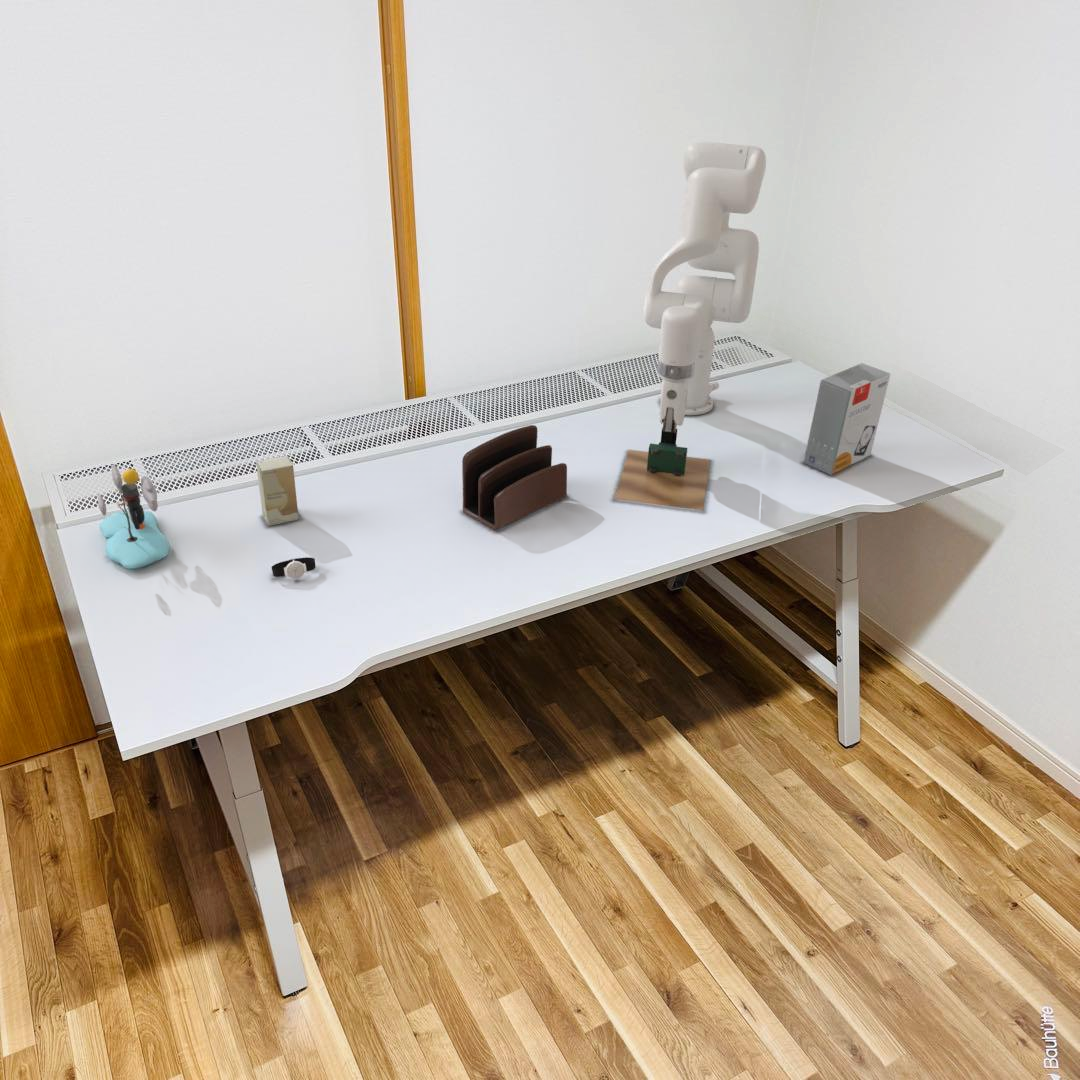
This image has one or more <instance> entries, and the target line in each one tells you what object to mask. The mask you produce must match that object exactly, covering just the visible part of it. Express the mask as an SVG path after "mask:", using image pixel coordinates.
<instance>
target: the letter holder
mask: <svg viewBox="0 0 1080 1080" xmlns="http://www.w3.org/2000/svg"><path fill="white" fill-rule="evenodd" d="M538 431H539V430H538V426H537V425H534V424H531V425H530V424H529V425H527V426H522V427H519V428H515V429H513V430H510V431H507V432H504V433H502V434H500V435H498V436H496V437H493V438H491V439H489V440H487V441H485V442H483V443H481V444H479V445H478V446H476V447H474V448H472V449H470V450H469V451H467V452H466V453H465V454H464V455H463V457H462V463H461V465H462V466H461V468H462V471H461V472H462V473H461V474H462V476H461V477H462V479H461V480H462V512H463V514H466V515H468V516H470V517H471V518H473V519H475V520H476V521H478V522H480V523H481V524H483V525H485V526H486V527H488V528H490V529H491V530H493V531H499V530H500V529H503V528H504V527H506V526H508V525H511V524H513V523H516V522H517V521H519V520H520V519H522V518H525V517H527V516H529V515H531V514H533V513H535V512H537V511H540V510H541V509H544V508H546V507H547V506H549V505H551V504H554V503H556V502H557V501H559V500H561V499H564V498H565V497H567V496H568V466H567V463H565V462H561V463H558V464H554V465H552V462H553V461H552V459H553V447H552V446H551V445H550V444H549V445H542V446H539V447H538Z"/></svg>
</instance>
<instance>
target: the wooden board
mask: <svg viewBox="0 0 1080 1080" xmlns="http://www.w3.org/2000/svg"><path fill="white" fill-rule="evenodd" d="M647 462H648V451H641V450H634V449H629V450H628V452H627V455H626V459H625V462H624V465H623V469H622V471H621V472H622V473H621V474H620V475H621V476H620V478H619V482H618V484H617V485H618V486H617V489H616V492H615V495H614V499H613V500H617V501H618V500H620V501H625V502H634V503H642V504H649V505H656V506H657V505H658V506H665V507H671V508H679V509H688V510H695V511H701V512H702V511H704V507H705V500H706V494H707V493H706V492H707V485H708V480H709V479H708V478H709V473H710V472H709V471H710V466H711V459H707V458H700V457H693V456H692V457H690V456H687V457H686V466H685V473H684V475H681V476H675V475H674V474H673V473H665V472H657V473H650V472H649V470H647Z"/></svg>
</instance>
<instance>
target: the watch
mask: <svg viewBox="0 0 1080 1080" xmlns="http://www.w3.org/2000/svg"><path fill="white" fill-rule="evenodd" d="M315 569H316V559H315V558H314V557H310V556H309V557H307V556H306V557H298V558H292V559H288V560H284V561H280V562H277V563H275V564H273V565H272V566H271V572H272V576H273V577H274V578H281V577H282V578H284V577H287V578H290V579H292V580H298V579H300V578H302V577H303V576H304V574H305V573H307V572H308V573H309V572H310V571H311V572H312V571H314V570H315Z"/></svg>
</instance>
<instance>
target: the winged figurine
mask: <svg viewBox="0 0 1080 1080" xmlns="http://www.w3.org/2000/svg"><path fill="white" fill-rule="evenodd" d="M111 476H112V481H113V484H114V486H115V487H116V492H118V493H119V492H120V493H119V494H120V498H121V500H122V501H120V503H119V502H116V504H117V505H116V507H118V508H119V509H120V510H122V511H117V512H116V513H113V514H111V515H108V516H107V505H106V502H105V500H104V499H103V496H102V495H101V494H98V495H97V504H98V509H99V511H100V513H101V514H102V515H103V516H107V517H104V519H102V520H101V521H100V523H99V526H98V528H99V531H100V532H101V533H102V535H103V537H104V538H107V540H106V541H105V545H104V546H105V548H104V549H105V553H106V555H107V557H108V558H109V560H111V561H112V562H115V563H117V564H120V565H122V566H123V567H124V568H126V569H131V570H132V569H138V568H139V569H140V568H143V567H146V566H148V565H150V564H153V563H155V562H158V561H160V560H163V559H164V558H167V556H168V555H169V553H170V542H169V540H168V539H167V537H166V536H165V534H164V533H162V532H161V531H160V529H159V528H158V525H157V523H158V519H157V517H156V516H155V514H154V513H153V512H157V511H158V507H159V505H158V504H159V503H158V493H157V490H156V487H155V485H154V483H153V482H152V481H151V479H150V478H149V477H148V476H146V475H143V476H142V477H141V479H140V475H139V473H138V471H136V470H135V469H133V468H129V469H126V470H124V471H123V473H122V475H121V472H120V470H119V469H118V466H117V465H116V464H114V463H113V464H111ZM139 479H140V480H141V481H140V490H141V494H140V491H139V488H138V485H137V483H138V481H139ZM123 482H124V483H123ZM140 495H142V498H143V499H144V500H145V502H146V504H147V506H148V508H149V509H150V510H151V511H150V510H144V508H143V506H142V504H141V498H140ZM122 507H123V508H122ZM126 507H127V508H126Z"/></svg>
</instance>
